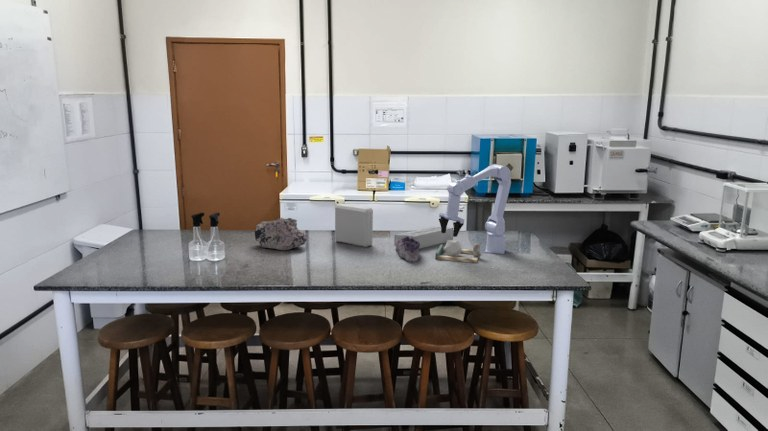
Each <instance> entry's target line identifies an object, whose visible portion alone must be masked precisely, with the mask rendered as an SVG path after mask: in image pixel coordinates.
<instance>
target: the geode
mask: <svg viewBox="0 0 768 431" xmlns="http://www.w3.org/2000/svg"><path fill="white" fill-rule="evenodd" d="M419 247H420V243H419V241H418V242H417V241H416V240H414V239H413V238H409V237H405V238H403V239H401V238H400V239H398V241H397V243H396V245H395V252H396V253H398V256H399V258H400V259H405V261H406V262H408V263H416V262H418V261H420V260H421V257H420V249H419Z"/></svg>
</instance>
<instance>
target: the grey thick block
mask: <svg viewBox="0 0 768 431" xmlns="http://www.w3.org/2000/svg"><path fill="white" fill-rule="evenodd" d="M373 212H374V210H373V209H372V207H368V206H367V207H366V206H360V205H353V204H347V203H338V204H336V205H335V206H334V217H335V218H334V228H335V229H334V240H335V241H336V242H337V243H341V242H342V243H341V244H346V243H347V244H348V245H351V244H352V246H356V245H358V247H361V246H363V247H362V248H368V246H369V247H371V246H372V245H373V235H374V234H373V228H374V227H373V225H374V224H373V223H374V221H373V219H374V215H373V214H374V213H373ZM347 244H346V245H347Z"/></svg>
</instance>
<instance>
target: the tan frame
mask: <svg viewBox="0 0 768 431" xmlns="http://www.w3.org/2000/svg"><path fill="white" fill-rule="evenodd" d="M444 248H445V247H444V244H440V245H439V247H438V249H437V250H436V251H435V256H434V257H435V258H434V259H435V260H440V261H441V260H442V261H453V262H463V263H465V262H466V263H473V264H474V263H477V262H478V259H479V257H480V252H481V251H480V250H481V244H480V243H473V249H468V248H467V249H465V248H462V249H461V252H460V254H469V255H472V256H473V257H461V256H458V257H453V256H447V255H441V254H442V252H445V251H444Z"/></svg>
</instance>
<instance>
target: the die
mask: <svg viewBox="0 0 768 431" xmlns="http://www.w3.org/2000/svg"><path fill="white" fill-rule="evenodd" d="M443 248H444V251H445V254H446V255H445V256H453V257H460V254H461V253H460V252H461V249H463V247H462V245H461V244H460V241H459V240H454V239H453V240H448V241H447V242H446V244H445V246H444V247H443Z"/></svg>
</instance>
